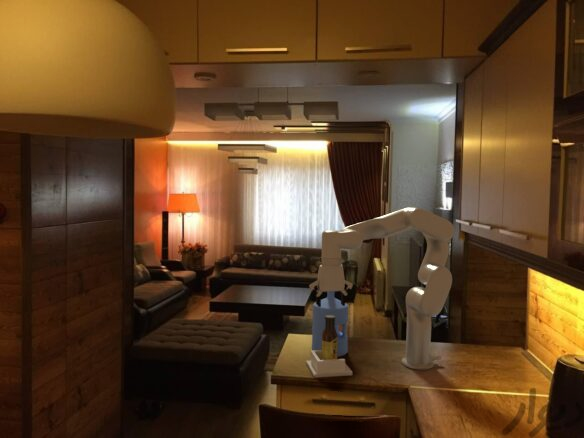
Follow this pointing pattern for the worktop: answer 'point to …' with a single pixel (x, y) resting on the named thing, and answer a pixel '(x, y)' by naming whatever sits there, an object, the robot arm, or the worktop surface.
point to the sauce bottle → (329, 339)
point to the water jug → (341, 317)
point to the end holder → (327, 366)
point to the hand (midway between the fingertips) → (331, 305)
